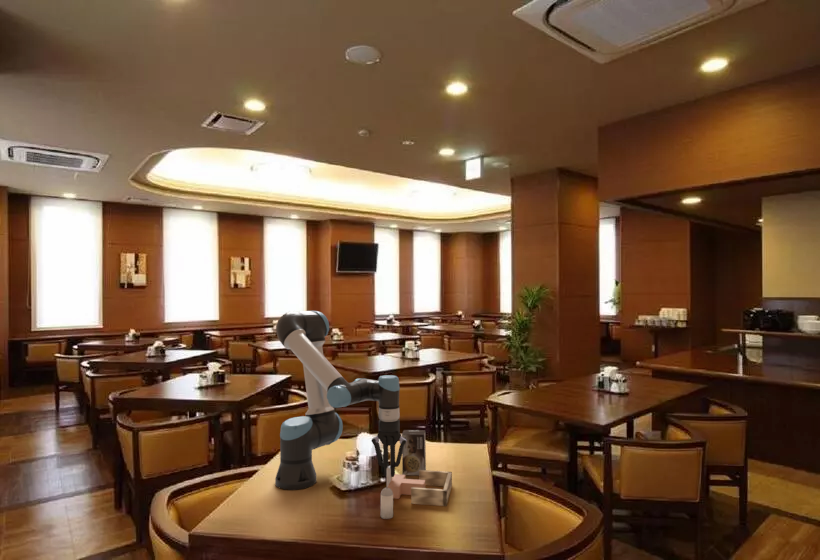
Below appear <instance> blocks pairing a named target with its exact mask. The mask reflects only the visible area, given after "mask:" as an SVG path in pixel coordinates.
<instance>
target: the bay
mask: <svg viewBox="0 0 820 560" xmlns="http://www.w3.org/2000/svg"><path fill="white" fill-rule="evenodd" d="M418 477H419V478H418V480H425V486H433V487H434V486H435V487H443V489H441V488H430V487H429V488H426V487H425V488H415V487H412V488H411V495H410V496H411V497H410V500H411V501H410V502H411V503H410V504H413V505H414V504H415V505H425V506H426V505H427V506H439V507H447V506H448V503H449V499H450V494H451V490H452V487H453V479H452V478H453V473H452V471H446V470H445V471H442V470H441V471H440V470H439V471H438V470H430V469H429V470H427V469H426V470H420V471H419V475H418Z"/></svg>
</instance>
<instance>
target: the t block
mask: <svg viewBox="0 0 820 560" xmlns="http://www.w3.org/2000/svg"><path fill="white" fill-rule="evenodd" d="M406 476H407V475H402V474H399V473H395V475H394V477H392V480H391V482H390V483H389V485H388V487H387V488H390V489H391V490H392V492H393V499H398V500H399V499H400V497H401V495H405V496H406V495H409V496H411V488H412V487H415V488H426V485H425V480H419V479H413V478H406Z"/></svg>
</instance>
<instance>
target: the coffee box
mask: <svg viewBox="0 0 820 560" xmlns="http://www.w3.org/2000/svg"><path fill="white" fill-rule="evenodd" d="M401 437H403V438H404V439H405V438H406V439H407V442H406V443H405V445H404V448H403V452H402V457H401V460H402V462H401V463H402V464H401V465H402V466H401V467H402V471H401V472H402V474H401V475H406V476H419V471H420V470H427V466H426V465H427V463H426V461H427V460H426V457H427V455H426V450H427V449H426V430H424V429H403V431H402V433H401Z"/></svg>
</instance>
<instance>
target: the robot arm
mask: <svg viewBox="0 0 820 560" xmlns="http://www.w3.org/2000/svg"><path fill="white" fill-rule="evenodd" d="M275 330H276V333H275V334H276V335H277V339H278V340H279V342H280V344H281V345H282V346H283V347H284V348H285V349H286V350H290V351H291V352H292V353H293V354H294V356H295V357H297V359H298V360H299V361H300V362H301V364H302V367H303V375H304V383H305V389H306V399H307V405H308V409H307V411H306V412H305V416H304V415H301V416H294V417H290V418H288V419H285V420H284V421H282V424H281V425H280V433H279V437H280V440H279V441H280V442H279V443H280V453H279V454H280V455H279V457H280V463H279V466H278V468H277V472H276V475H275V479H274V480H275V481H274V483H275V484H276V485H275V484H274V485H275V486H276V488H278V487H280V488H279V489H281V488H283V489H282V490H286V489H288V490H287V491H294V490H296V491H297V490H303V489H307V488H309V487H312V486H314V485H315V484H316V483H317V473H316V469H315V466H314V463H313V450H316V449H318V448H321V447H324V446H329V445H331V444H333V443H335V442H337V441H338V440H339V438H340V437H341V436H342V433H343V425H344V424H343V420H342V418H341V417H340V414H338V413H337V412H336V411H335V408H336V409H337V408H338V409H339V408H342V407H343V408H346V407H347V406H350V405H354V404H358V403H361V402H365V401H373V402H378V419H379V420H378V433H377V435H376V436H374V437H373V438H372V439H371V442H372V444H373V446H374V450H375V454H376V458H377V463H378V466H380V467H383V476H384V477H386V488H388V485H389V483H390V482H391V480H392V478H393V477H394V475H395V474H396V467H399V466H400V464H401V460H402V452H403V448H404V445H405V443H406V442H407V439H406V438H405V439H404V438H403V437H402V433H401V431H400V428H401V427H400V417H401V416H400V412H401V411H400V389H401V387H400V379H399V377H398V376H397V375H392V374H390V375H389V374H388V375H387V374H386V375H380V376H379V377H378V379H377V380H376V379H369V378H366V377H365V378H364V377H363V378H359V377H358V378H356V379H354V381H352V382H348V380H346V379H345V378H344V376H342V374H341V373H340V372H339V371H338V370H337V369H336V367H334V366H333V365H332V363H331V362H330V361H329V360H328V358H326V356H325V355H324V349H323V346H324V344H325V343H326V337H327V335H329V331H330V322H329V320H328V318H327V316H326V315H325V314H324V313H323V312H321V311H318V310H302V311H301V310H299V311H295V310H294V311H288V312H285V313H284V314H282V315H281V316H280V318H279V319H278V321H277V322H276V327H275ZM379 442H380V443H381V444H382V449H383V451H381V446H380V443H379ZM398 442H399V444H400V445H399V448H398V453H397V456H396V445H397V443H398ZM389 451H390V453H389ZM382 452H383V454H382ZM389 454H390V456H389ZM389 457H390V461H389ZM389 462H390V463H389ZM389 464H390V465H389Z"/></svg>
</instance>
